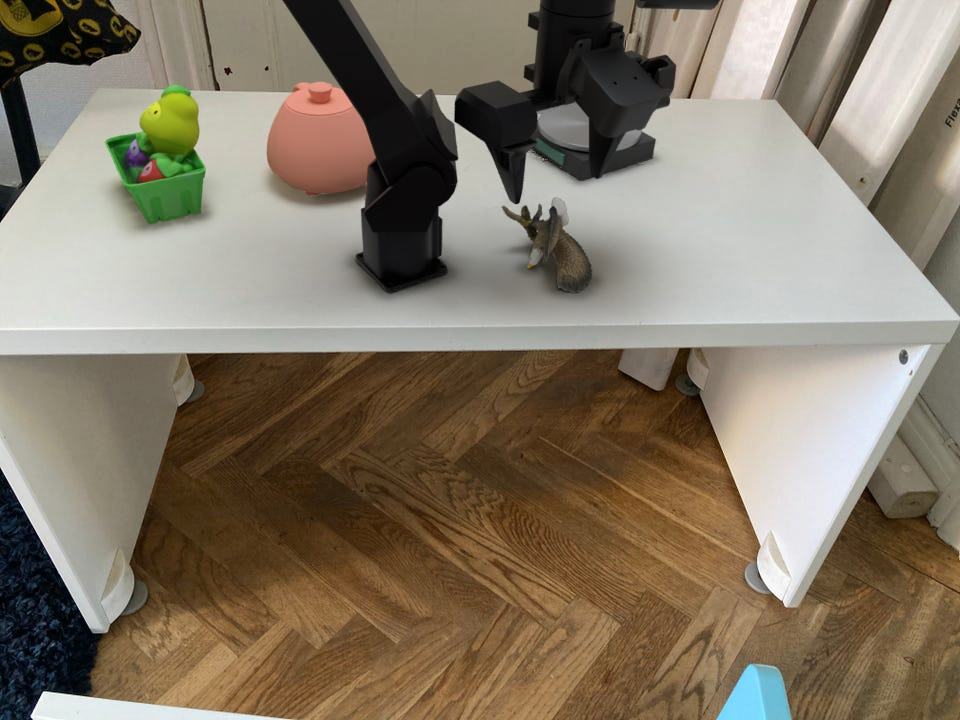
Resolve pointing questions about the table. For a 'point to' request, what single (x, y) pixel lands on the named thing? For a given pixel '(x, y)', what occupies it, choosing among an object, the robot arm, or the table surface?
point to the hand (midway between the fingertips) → (556, 189)
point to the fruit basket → (163, 158)
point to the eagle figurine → (555, 245)
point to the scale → (579, 160)
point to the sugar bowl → (319, 141)
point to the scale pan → (575, 129)
